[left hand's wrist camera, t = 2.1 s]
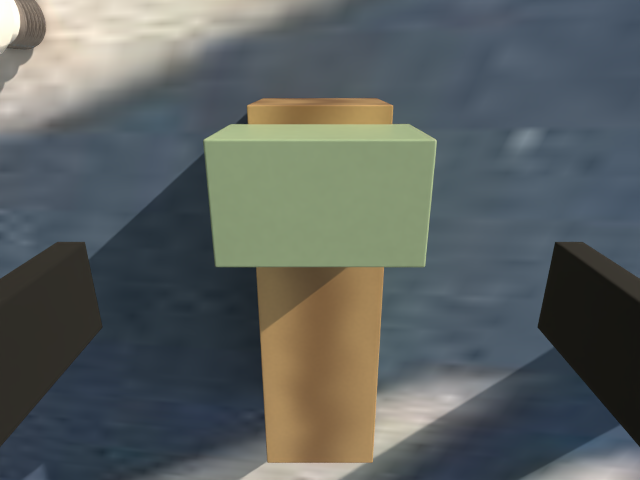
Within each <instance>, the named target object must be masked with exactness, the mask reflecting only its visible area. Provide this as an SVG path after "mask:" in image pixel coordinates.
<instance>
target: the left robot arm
mask: <svg viewBox="0 0 640 480" xmlns="http://www.w3.org/2000/svg"><path fill="white" fill-rule="evenodd" d="M101 328H102V323H101V318H100V313H99V308H98V303H97V299H96V294H95V289H94V284H93V279H92V275H91V270H90V265H89V260H88V255H87V250H86V246H85V242H57V243H55V244H54V245H52V246H50V247H49V248H47V249H46V250H44V251H43V252H41V253H40V254H38V255H36V256H35V257H33V258H32V259H30V260H29V261H27V262H26V263H24V264H22V265H21V266H19V267H18V268H16V269H15V270H13V271H12V272H10V273H9V274H7V275H5V276H4V277H2V278H1V279H0V447H1V445H2V444H3V443H4V442H5V441H6V439H7V438H8V437H9V436H10V435H11V434H12V432H13V431H14V430H15V429H16V428H17V427H18V425H19V424H20V423H21V422H22V421H23V420H24V418H25V417H26V416H27V415H28V414H29V413H30V411H31V410H32V409H33V408H34V407H35V406H36V404H37V403H38V402H39V401H40V400H41V399H42V397H43V396H44V395H45V394H46V393H47V392H48V390H49V389H50V388H51V387H52V386H53V384H54V383H55V382H56V381H57V380H58V379H59V377H60V376H61V375H62V374H63V373H64V372H65V370H66V369H67V368H68V367H69V366H70V365H71V363H72V362H73V361H74V360H75V359H76V358H77V356H78V355H79V354H80V353H81V352H82V351H83V349H84V348H85V347H86V346H87V345H88V344H89V342H90V341H91V340H92V339H93V338H94V337H95V335H96V334H97V333H98V332H99V331H100V329H101ZM538 328H539V330H540V331H541V332H542V333H543V334H544V335H545V337H546V338H547V339H548V340H549V341H550V342H551V344H552V345H553V346H554V347H555V348H556V349H557V351H558V352H559V353H560V354H561V355H562V356H563V358H564V359H565V360H566V361H567V362H568V363H569V365H570V366H571V367H572V368H573V369H574V370H575V372H576V373H577V374H578V375H579V376H580V377H581V379H582V380H583V381H584V382H585V383H586V384H587V386H588V387H589V388H590V389H591V390H592V392H593V393H594V394H595V395H596V396H597V397H598V399H599V400H600V401H601V402H602V403H603V404H604V406H605V407H606V408H607V409H608V410H609V411H610V413H611V414H612V415H613V416H614V417H615V418H616V420H617V421H618V422H619V423H620V424H621V425H622V427H623V428H624V429H625V430H626V431H627V432H628V434H629V435H630V436H631V437H632V438H633V439H634V441H635V442H636V443H637V444H638V445H639V447H640V279H639V278H638V277H636V276H635V275H633V274H631V273H630V272H628V271H627V270H625V269H624V268H622V267H621V266H619V265H618V264H616V263H614V262H613V261H611V260H610V259H608V258H607V257H605V256H604V255H602V254H600V253H599V252H597V251H596V250H594V249H593V248H591V247H590V246H588V245H586V244H585V243H583V242H555V246H554V250H553V255H552V260H551V265H550V270H549V275H548V279H547V284H546V289H545V294H544V299H543V303H542V308H541V313H540V318H539V323H538Z"/></svg>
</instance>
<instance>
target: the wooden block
mask: <svg viewBox="0 0 640 480" xmlns="http://www.w3.org/2000/svg"><path fill="white" fill-rule="evenodd" d="M392 115H393V105H390V104H388V103H386V102H384V101H381V100H379V99H377V98H263V99H261V100H259V101H256V102H254V103H252V104H250V105H247V116H248V124H392ZM256 272H257V290H258V307H259V325H260V342H261V360H262V377H263V394H264V412H265V429H266V447H267V462H268V463H372V462H373V447H374V429H375V412H376V394H377V377H378V359H379V342H380V325H381V307H382V290H383V272H384V267H256Z"/></svg>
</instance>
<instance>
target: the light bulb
mask: <svg viewBox="0 0 640 480" xmlns="http://www.w3.org/2000/svg"><path fill="white" fill-rule="evenodd" d="M45 31H46V24H45V19H44V15H43V13H42V11H41V9H40V7H39V5H38V4H37V2H36V1H35V0H0V55H1V54H2V53H3V52H4V51H5V50H6V48H17V49H30V48H34V47H36V46H37V45H39V44H40V43H41V41H42V40H43V38H44V35H45Z"/></svg>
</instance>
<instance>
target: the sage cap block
mask: <svg viewBox="0 0 640 480" xmlns="http://www.w3.org/2000/svg"><path fill="white" fill-rule="evenodd" d="M203 143H204V154H205V165H206V175H207V186H208V197H209V207H210V218H211V228H212V239H213V250H214V260H215V266H216V267H424V266H425V260H426V250H427V239H428V228H429V218H430V207H431V196H432V186H433V175H434V165H435V154H436V143H437V141H436V139H434V138H432V137H430V136H429V135H427V134H425V133H423V132H422V131H420V130H418V129H416V128H415V127H413V126H411V125H409V124H231V125H229V126H227V127H225V128H224V129H222V130H220V131H218V132H217V133H215V134H213V135H211V136H210V137H208V138H206V139H204V141H203Z"/></svg>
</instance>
